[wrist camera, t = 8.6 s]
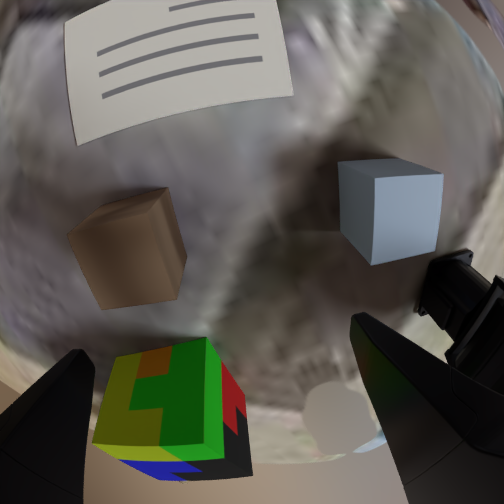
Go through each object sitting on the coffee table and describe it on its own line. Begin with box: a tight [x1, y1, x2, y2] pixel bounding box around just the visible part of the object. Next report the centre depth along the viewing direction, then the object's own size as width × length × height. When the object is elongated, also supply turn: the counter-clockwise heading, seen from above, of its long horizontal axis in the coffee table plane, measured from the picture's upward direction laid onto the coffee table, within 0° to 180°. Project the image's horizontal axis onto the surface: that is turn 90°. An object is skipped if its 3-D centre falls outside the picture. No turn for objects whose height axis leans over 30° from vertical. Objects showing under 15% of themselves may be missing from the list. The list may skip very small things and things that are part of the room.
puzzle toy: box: [92, 337, 253, 481], centre depth 20 cm, size 10×10×10 cm
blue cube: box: [338, 158, 444, 266], centre depth 15 cm, size 5×5×5 cm
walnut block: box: [67, 188, 187, 310], centre depth 15 cm, size 5×5×5 cm
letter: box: [65, 0, 294, 146], centre depth 12 cm, size 14×10×1 cm
